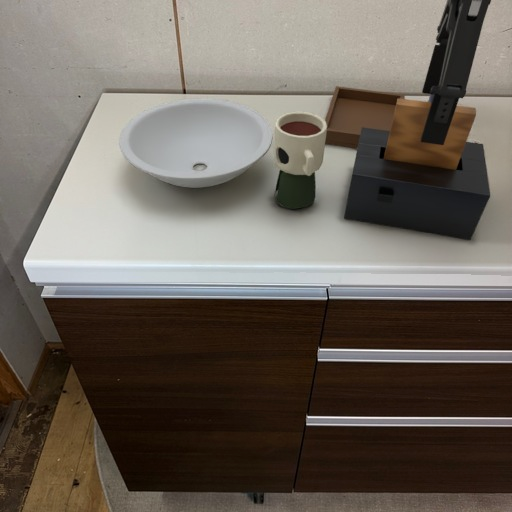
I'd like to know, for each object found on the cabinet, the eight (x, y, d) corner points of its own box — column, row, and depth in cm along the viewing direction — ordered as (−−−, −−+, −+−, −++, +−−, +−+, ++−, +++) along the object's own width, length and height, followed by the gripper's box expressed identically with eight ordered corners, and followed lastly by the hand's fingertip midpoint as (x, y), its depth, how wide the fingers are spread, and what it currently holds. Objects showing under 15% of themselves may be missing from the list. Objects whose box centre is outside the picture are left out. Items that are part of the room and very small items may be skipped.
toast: (448, 182, 70) (475, 107, 61) (448, 190, 69) (476, 114, 60) (380, 172, 72) (397, 97, 63) (379, 179, 70) (396, 104, 62)
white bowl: (246, 122, 90) (245, 89, 85) (293, 196, 74) (295, 160, 69) (118, 143, 84) (110, 109, 80) (138, 228, 68) (130, 191, 64)
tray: (334, 99, 97) (335, 86, 95) (401, 107, 95) (404, 94, 93) (320, 143, 85) (321, 129, 83) (397, 154, 82) (400, 140, 80)
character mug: (264, 181, 76) (266, 107, 67) (306, 176, 78) (314, 102, 68) (281, 225, 69) (286, 148, 60) (327, 218, 70) (339, 142, 61)
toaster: (466, 187, 76) (483, 143, 70) (470, 244, 66) (491, 199, 61) (353, 169, 79) (361, 127, 73) (343, 222, 69) (351, 178, 64)
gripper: (448, -99, 57) (406, 73, 72) (456, -51, 40) (398, 162, 55) (514, -95, 56) (457, 79, 71) (551, -44, 38) (466, 172, 53)
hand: (431, 116), depth 63 cm, fingers open, 13 cm apart
